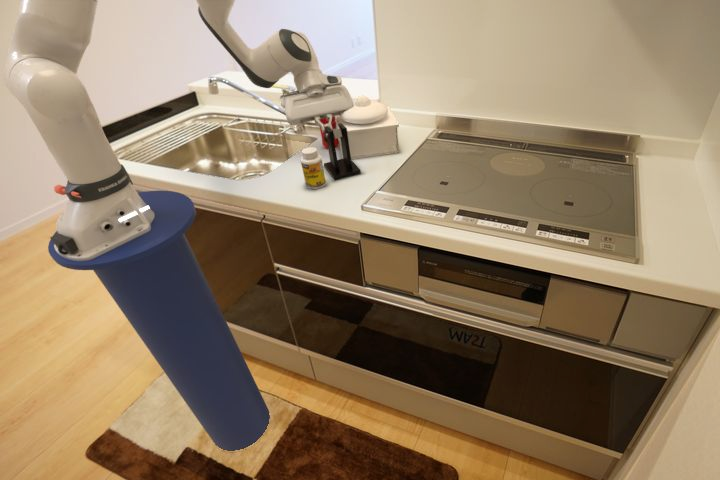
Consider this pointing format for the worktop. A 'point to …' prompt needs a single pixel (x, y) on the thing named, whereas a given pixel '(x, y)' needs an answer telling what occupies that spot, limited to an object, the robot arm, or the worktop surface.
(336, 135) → the tap lever
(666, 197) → the worktop surface
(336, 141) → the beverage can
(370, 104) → the white box with dome
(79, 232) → the robot arm
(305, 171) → the supplement bottle
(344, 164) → the bracket
